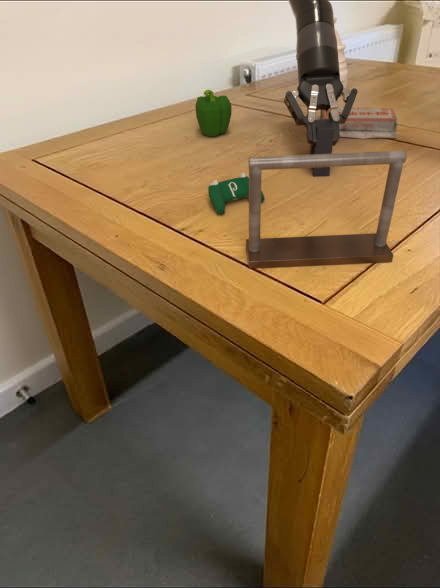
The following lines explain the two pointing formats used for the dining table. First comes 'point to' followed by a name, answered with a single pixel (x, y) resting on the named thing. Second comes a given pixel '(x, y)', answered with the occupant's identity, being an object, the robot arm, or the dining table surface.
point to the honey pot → (341, 59)
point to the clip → (323, 144)
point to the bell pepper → (213, 113)
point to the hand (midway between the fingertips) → (324, 144)
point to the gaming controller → (229, 191)
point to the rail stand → (322, 247)
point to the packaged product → (367, 123)
